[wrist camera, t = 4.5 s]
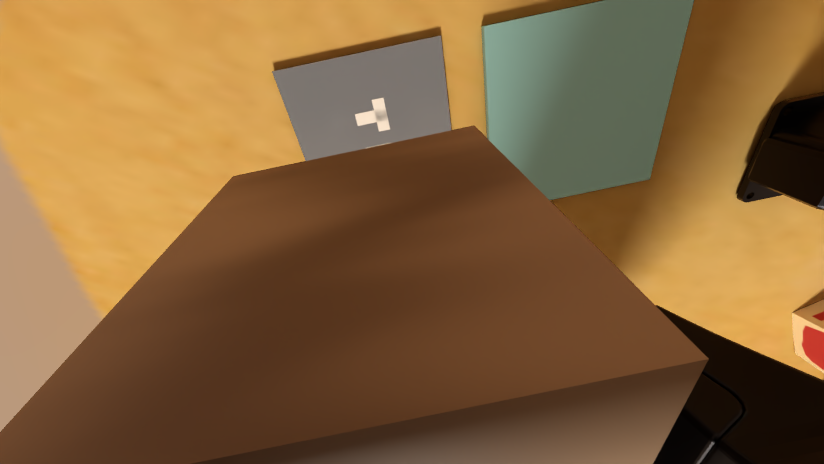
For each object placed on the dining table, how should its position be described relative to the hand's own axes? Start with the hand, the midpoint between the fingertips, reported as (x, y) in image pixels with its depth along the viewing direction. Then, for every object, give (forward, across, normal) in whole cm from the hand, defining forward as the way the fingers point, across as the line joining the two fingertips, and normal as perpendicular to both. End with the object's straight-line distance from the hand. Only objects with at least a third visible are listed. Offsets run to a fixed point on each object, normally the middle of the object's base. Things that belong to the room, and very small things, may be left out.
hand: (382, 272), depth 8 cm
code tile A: (+11, 0, 0) cm, 11 cm away
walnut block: (+1, 0, 0) cm, 1 cm away
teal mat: (+12, -11, +1) cm, 16 cm away
